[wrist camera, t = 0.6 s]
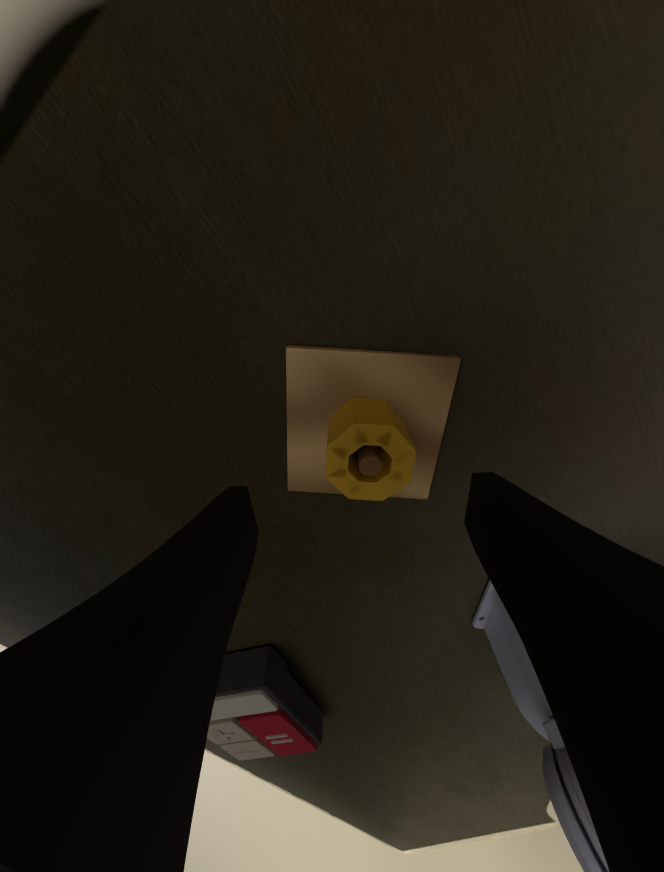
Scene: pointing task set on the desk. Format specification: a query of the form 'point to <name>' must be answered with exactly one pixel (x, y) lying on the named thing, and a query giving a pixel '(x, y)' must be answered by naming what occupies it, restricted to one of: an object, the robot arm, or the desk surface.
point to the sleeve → (375, 428)
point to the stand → (375, 379)
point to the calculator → (262, 708)
